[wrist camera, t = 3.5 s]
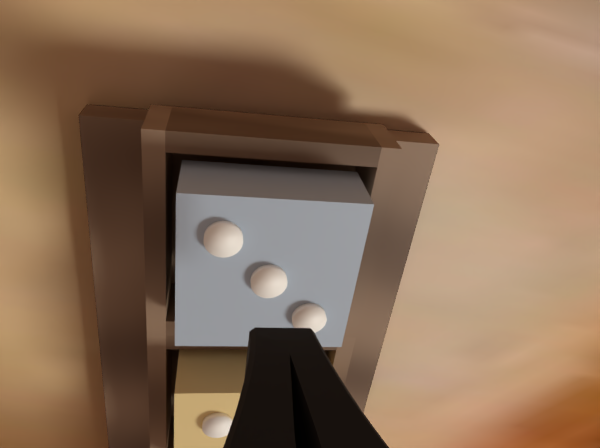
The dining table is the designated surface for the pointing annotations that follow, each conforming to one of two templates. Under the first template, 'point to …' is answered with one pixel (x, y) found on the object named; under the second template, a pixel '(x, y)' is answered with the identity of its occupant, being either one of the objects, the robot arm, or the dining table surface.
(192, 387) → the two pip tile
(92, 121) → the brown tile tray
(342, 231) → the three pip tile
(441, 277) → the dining table surface
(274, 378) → the robot arm
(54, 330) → the dining table surface
